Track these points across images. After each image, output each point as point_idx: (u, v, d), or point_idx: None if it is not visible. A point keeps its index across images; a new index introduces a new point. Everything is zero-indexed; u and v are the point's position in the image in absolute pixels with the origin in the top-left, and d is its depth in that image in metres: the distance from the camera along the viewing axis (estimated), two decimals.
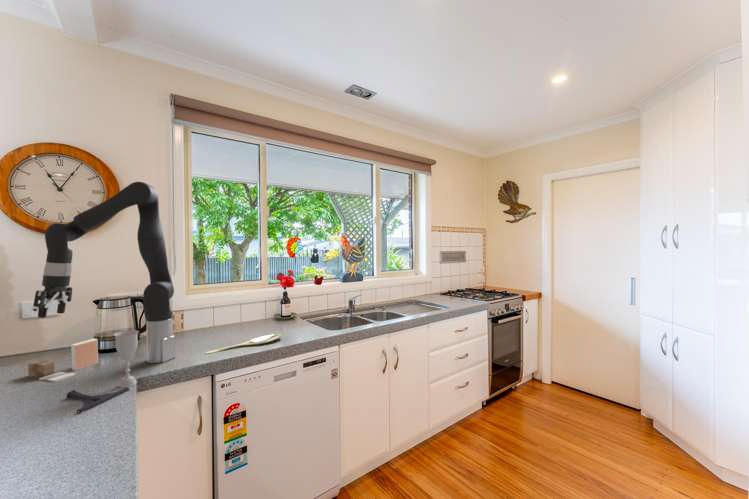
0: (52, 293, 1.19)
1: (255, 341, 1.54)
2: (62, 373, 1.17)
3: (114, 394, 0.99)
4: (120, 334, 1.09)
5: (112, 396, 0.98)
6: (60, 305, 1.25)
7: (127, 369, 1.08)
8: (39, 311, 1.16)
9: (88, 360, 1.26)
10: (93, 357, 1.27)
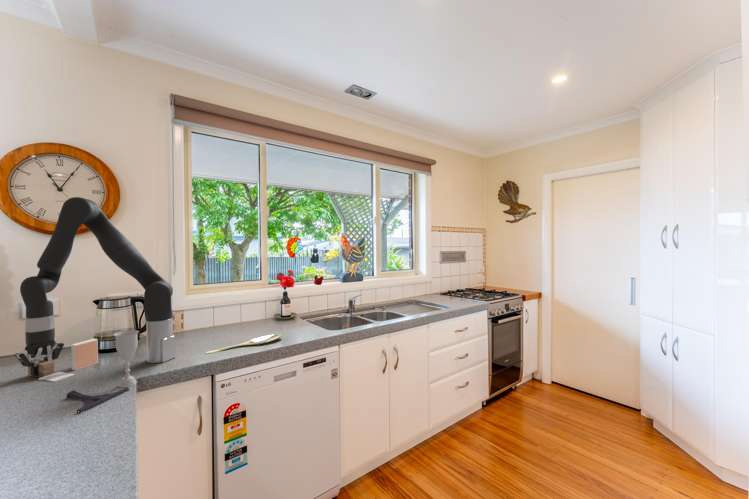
0: (34, 351, 1.14)
1: (255, 341, 1.54)
2: (62, 373, 1.17)
3: (114, 394, 0.99)
4: (120, 334, 1.09)
5: (112, 396, 0.98)
6: None
7: (127, 369, 1.08)
8: (31, 370, 1.14)
9: (89, 360, 1.26)
10: (93, 357, 1.27)
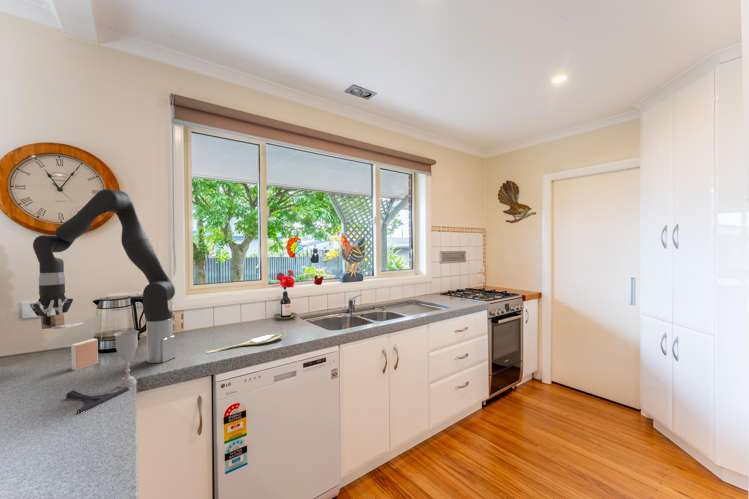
0: (47, 303, 1.26)
1: (256, 341, 1.55)
2: (72, 323, 1.29)
3: (114, 394, 0.99)
4: (120, 334, 1.09)
5: (112, 396, 0.98)
6: None
7: (127, 369, 1.08)
8: (44, 320, 1.26)
9: (89, 360, 1.26)
10: (93, 357, 1.27)
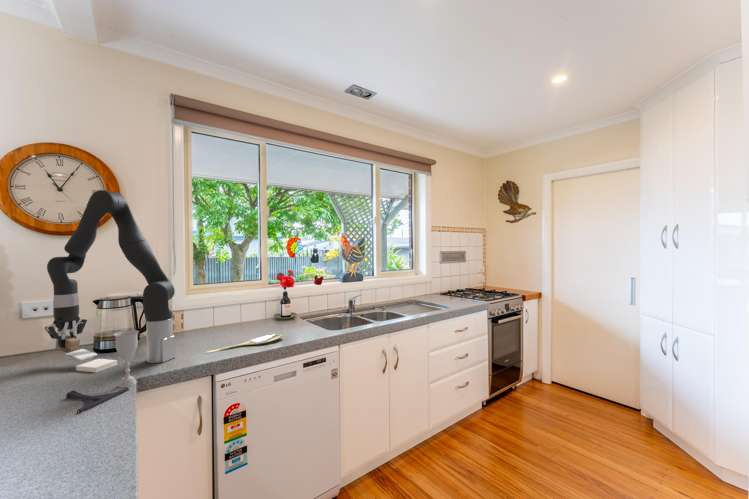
0: (61, 325, 1.25)
1: (256, 341, 1.55)
2: (85, 351, 1.28)
3: (114, 394, 0.99)
4: (120, 334, 1.09)
5: (112, 396, 0.98)
6: None
7: (127, 369, 1.08)
8: (58, 342, 1.25)
9: None
10: None
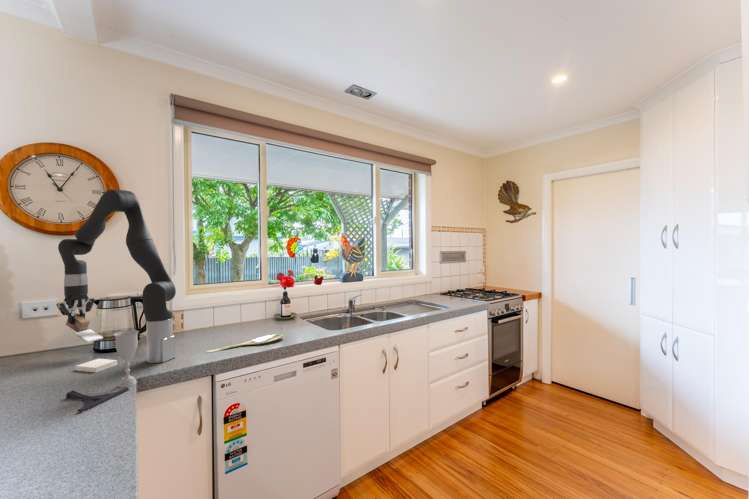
0: (71, 303, 1.34)
1: (257, 341, 1.55)
2: (93, 332, 1.37)
3: (114, 394, 0.99)
4: (120, 334, 1.09)
5: (112, 396, 0.98)
6: None
7: (127, 369, 1.08)
8: (68, 319, 1.34)
9: None
10: None
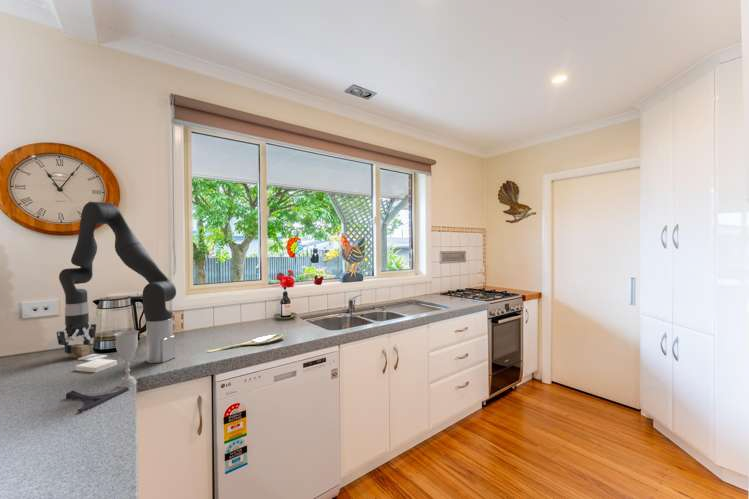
0: (72, 331, 1.34)
1: (257, 341, 1.55)
2: (96, 355, 1.37)
3: (114, 394, 0.99)
4: (120, 334, 1.09)
5: (112, 396, 0.98)
6: (84, 341, 1.39)
7: (127, 369, 1.08)
8: (65, 348, 1.32)
9: None
10: None
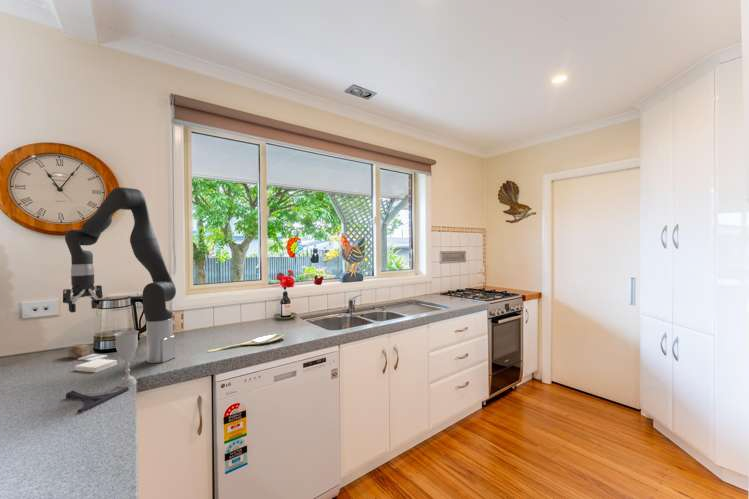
0: (78, 291, 1.36)
1: (258, 341, 1.55)
2: (96, 355, 1.37)
3: (114, 394, 0.99)
4: (120, 334, 1.09)
5: (112, 396, 0.98)
6: (92, 301, 1.42)
7: (127, 369, 1.08)
8: (69, 307, 1.34)
9: None
10: None
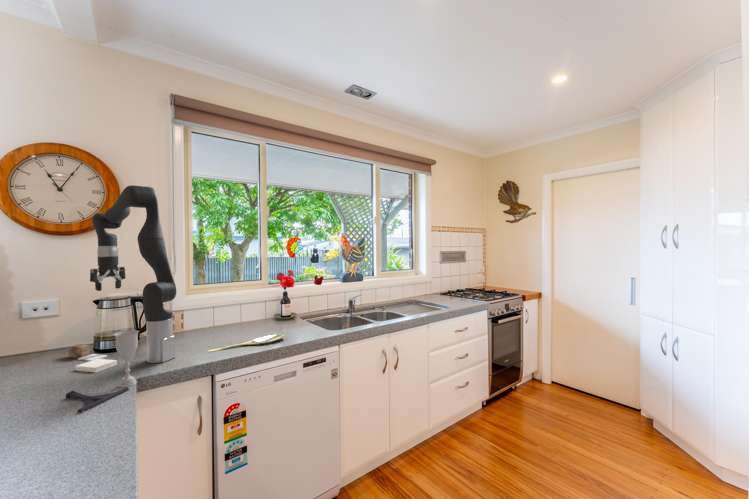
0: (104, 271, 1.45)
1: (258, 341, 1.55)
2: (96, 355, 1.37)
3: (114, 394, 0.99)
4: (120, 334, 1.09)
5: (112, 396, 0.98)
6: (116, 282, 1.51)
7: (127, 369, 1.08)
8: (95, 285, 1.42)
9: None
10: None
